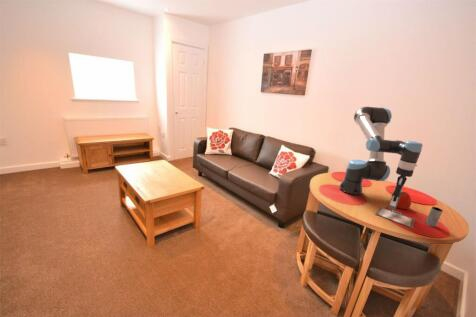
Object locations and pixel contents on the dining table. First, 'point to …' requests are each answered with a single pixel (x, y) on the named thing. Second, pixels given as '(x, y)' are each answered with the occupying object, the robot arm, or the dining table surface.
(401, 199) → the apple
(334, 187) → the dining table surface
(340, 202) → the dining table surface
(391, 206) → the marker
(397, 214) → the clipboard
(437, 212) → the grey hollow cylinder
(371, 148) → the robot arm
